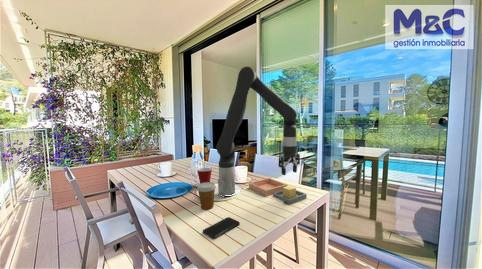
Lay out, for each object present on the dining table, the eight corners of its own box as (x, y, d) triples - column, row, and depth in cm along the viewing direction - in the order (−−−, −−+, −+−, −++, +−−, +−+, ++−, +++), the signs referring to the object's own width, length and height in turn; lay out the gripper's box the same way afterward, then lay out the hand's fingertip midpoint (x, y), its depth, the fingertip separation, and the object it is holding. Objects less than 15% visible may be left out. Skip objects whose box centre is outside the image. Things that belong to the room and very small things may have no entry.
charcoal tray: (288, 204, 106) (288, 200, 106) (273, 197, 117) (273, 193, 116) (306, 198, 114) (306, 194, 114) (290, 191, 124) (290, 187, 124)
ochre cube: (289, 198, 112) (289, 189, 111) (283, 195, 116) (283, 187, 115) (295, 196, 114) (295, 187, 114) (289, 193, 119) (289, 185, 118)
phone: (240, 222, 89) (213, 238, 78) (240, 225, 89) (213, 241, 78) (228, 216, 94) (201, 230, 83) (228, 219, 94) (201, 233, 83)
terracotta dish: (266, 197, 116) (266, 190, 116) (249, 188, 131) (248, 182, 130) (287, 190, 125) (287, 184, 125) (269, 183, 140) (269, 177, 139)
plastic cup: (214, 183, 143) (214, 166, 142) (211, 188, 132) (210, 170, 131) (199, 183, 144) (199, 166, 143) (194, 188, 134) (194, 170, 132)
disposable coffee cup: (209, 201, 113) (208, 180, 112) (220, 206, 106) (219, 184, 105) (194, 207, 106) (193, 185, 105) (204, 213, 99) (203, 189, 98)
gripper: (293, 142, 119) (293, 170, 121) (275, 145, 112) (275, 174, 113) (303, 144, 113) (303, 172, 115) (285, 146, 105) (284, 177, 107)
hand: (289, 173), depth 114 cm, fingers open, 8 cm apart
